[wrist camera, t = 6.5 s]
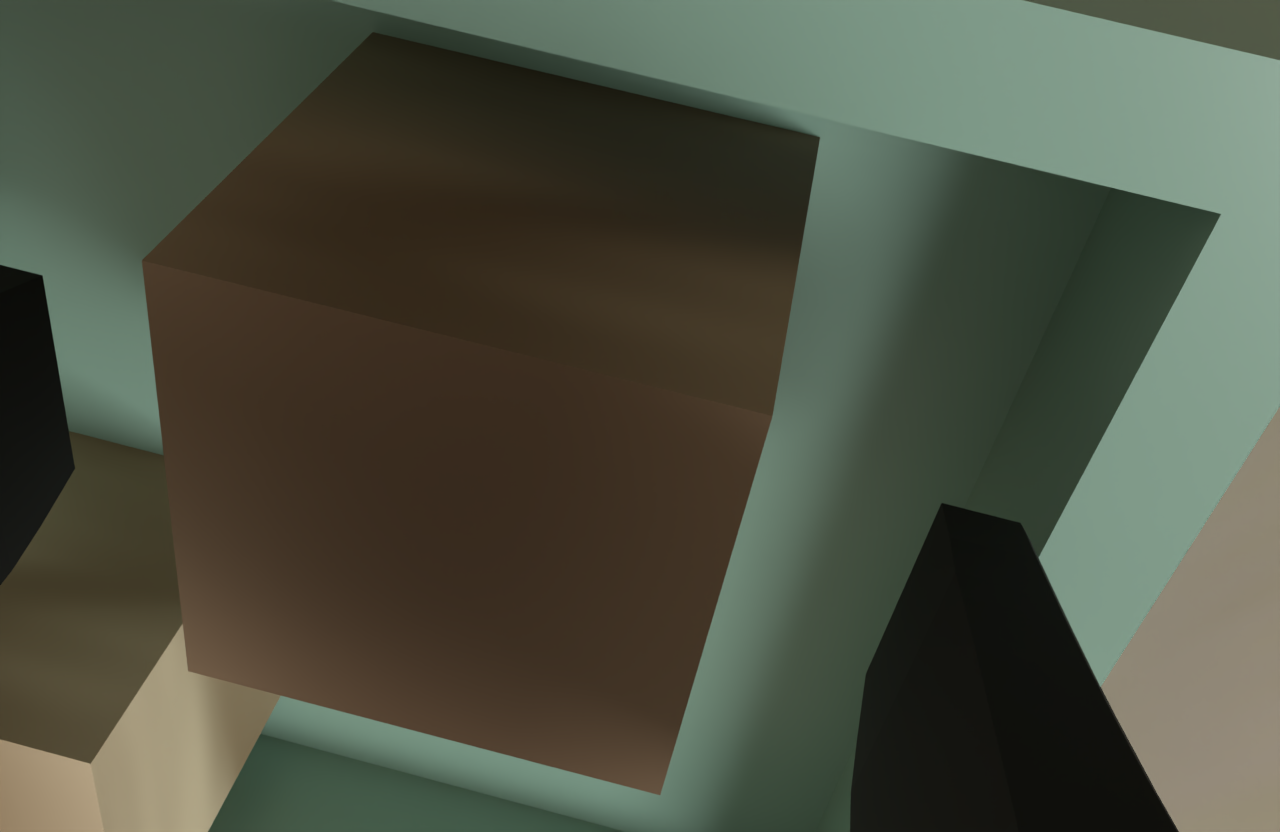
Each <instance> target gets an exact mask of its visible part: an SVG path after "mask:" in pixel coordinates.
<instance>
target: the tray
mask: <svg viewBox="0 0 1280 832" xmlns="http://www.w3.org/2000/svg"><path fill="white" fill-rule="evenodd" d="M372 32H375V33H379V34H383V35H388V36H392V37H396V38H400V39H405V40H409V41H413V42H417V43H422V44H426V45H430V46H434V47H439V48H443V49H447V50H451V51H456V52H460V53H464V54H468V55H473V56H477V57H481V58H486V59H490V60H494V61H498V62H503V63H507V64H511V65H515V66H520V67H524V68H528V69H532V70H537V71H541V72H545V73H549V74H554V75H558V76H562V77H566V78H571V79H575V80H579V81H583V82H588V83H592V84H596V85H600V86H605V87H609V88H613V89H617V90H622V91H626V92H630V93H634V94H639V95H643V96H647V97H651V98H656V99H660V100H664V101H669V102H673V103H677V104H681V105H686V106H690V107H694V108H698V109H703V110H707V111H711V112H715V113H720V114H724V115H728V116H732V117H737V118H741V119H745V120H749V121H754V122H758V123H762V124H766V125H771V126H775V127H779V128H783V129H788V130H792V131H796V132H800V133H805V134H809V135H813V136H817V137H820V141H819V147H818V153H817V159H816V165H815V171H814V177H813V182H812V188H811V194H810V200H809V206H808V212H807V218H806V223H805V229H804V235H803V241H802V247H801V253H800V258H799V264H798V270H797V276H796V282H795V288H794V294H793V299H792V305H791V311H790V317H789V323H788V329H787V335H786V340H785V346H784V352H783V358H782V364H781V370H780V375H779V381H778V387H777V393H776V399H775V405H774V411H773V416H772V420H771V423H770V426H769V430H768V433H767V437H766V440H765V443H764V447H763V450H762V453H761V457H760V460H759V464H758V467H757V470H756V474H755V477H754V480H753V484H752V487H751V491H750V494H749V497H748V501H747V504H746V507H745V511H744V514H743V518H742V521H741V524H740V528H739V531H738V534H737V538H736V541H735V545H734V548H733V551H732V555H731V558H730V561H729V565H728V568H727V572H726V575H725V578H724V582H723V585H722V589H721V592H720V595H719V599H718V602H717V605H716V609H715V612H714V616H713V619H712V622H711V626H710V629H709V632H708V636H707V639H706V643H705V646H704V649H703V653H702V656H701V659H700V663H699V666H698V670H697V673H696V676H695V680H694V683H693V686H692V690H691V693H690V697H689V700H688V703H687V707H686V710H685V713H684V717H683V720H682V724H681V727H680V730H679V734H678V737H677V740H676V744H675V747H674V751H673V754H672V757H671V761H670V764H669V768H668V771H667V774H666V778H665V781H664V784H663V788H662V791H661V795H657V794H653V793H649V792H645V791H641V790H638V789H634V788H630V787H626V786H622V785H619V784H615V783H611V782H607V781H603V780H600V779H596V778H592V777H588V776H584V775H581V774H577V773H573V772H569V771H565V770H562V769H558V768H554V767H550V766H546V765H543V764H539V763H535V762H531V761H527V760H524V759H520V758H516V757H512V756H508V755H505V754H501V753H497V752H493V751H489V750H486V749H482V748H478V747H474V746H470V745H467V744H463V743H459V742H455V741H451V740H448V739H444V738H440V737H436V736H432V735H429V734H425V733H421V732H417V731H413V730H410V729H406V728H402V727H398V726H394V725H391V724H387V723H383V722H379V721H375V720H372V719H368V718H364V717H360V716H356V715H353V714H349V713H345V712H341V711H337V710H333V709H330V708H326V707H322V706H318V705H314V704H311V703H307V702H303V701H299V700H295V699H292V698H288V697H284V696H280V698H279V700H278V702H277V704H276V706H275V707H274V709H273V711H272V713H271V715H270V717H269V719H268V721H267V722H266V724H265V726H264V728H263V730H262V732H261V734H260V735H259V737H258V739H257V741H256V743H255V745H254V747H253V749H252V750H251V752H250V754H249V756H248V758H247V760H246V762H245V763H244V765H243V767H242V769H241V771H240V773H239V775H238V777H237V778H236V780H235V782H234V784H233V786H232V788H231V790H230V791H229V793H228V795H227V797H226V799H225V801H224V803H223V805H222V806H221V808H220V810H219V812H218V814H217V816H216V818H215V820H214V821H213V823H212V825H211V827H210V829H209V831H208V832H850V804H851V786H852V777H853V769H854V760H855V752H856V743H857V735H858V728H859V721H860V713H861V706H862V698H863V691H864V683H865V676H866V672H867V670H868V668H869V666H870V663H871V661H872V659H873V657H874V654H875V652H876V650H877V648H878V645H879V643H880V641H881V639H882V636H883V634H884V632H885V629H886V627H887V625H888V623H889V620H890V618H891V616H892V614H893V611H894V609H895V607H896V605H897V602H898V600H899V598H900V596H901V593H902V591H903V589H904V587H905V584H906V582H907V580H908V577H909V575H910V573H911V571H912V568H913V566H914V564H915V562H916V559H917V557H918V555H919V553H920V550H921V548H922V546H923V544H924V541H925V539H926V537H927V535H928V532H929V530H930V528H931V525H932V523H933V521H934V519H935V516H936V514H937V512H938V510H939V507H940V505H941V503H944V504H948V505H952V506H956V507H960V508H964V509H968V510H972V511H976V512H980V513H984V514H988V515H992V516H996V517H1000V518H1004V519H1008V520H1012V521H1016V522H1019V523H1021V524H1022V526H1023V528H1024V530H1025V531H1026V533H1027V535H1028V537H1029V539H1030V541H1031V543H1032V545H1033V547H1034V549H1035V551H1036V554H1037V556H1038V558H1039V560H1040V562H1041V564H1042V566H1043V568H1044V571H1045V573H1046V575H1047V577H1048V579H1049V581H1050V583H1051V586H1052V588H1053V590H1054V592H1055V594H1056V596H1057V598H1058V600H1059V603H1060V605H1061V607H1062V609H1063V611H1064V613H1065V615H1066V617H1067V619H1068V621H1069V624H1070V626H1071V628H1072V630H1073V632H1074V634H1075V636H1076V638H1077V640H1078V642H1079V644H1080V646H1081V648H1082V650H1083V652H1084V654H1085V657H1086V659H1087V661H1088V663H1089V665H1090V667H1091V669H1092V671H1093V673H1094V675H1095V677H1096V679H1097V681H1098V683H1099V685H1100V687H1101V685H1102V684H1103V682H1104V681H1105V679H1106V678H1107V676H1108V674H1109V673H1110V671H1111V670H1112V668H1113V667H1114V665H1115V664H1116V662H1117V660H1118V659H1119V657H1120V656H1121V654H1122V653H1123V651H1124V649H1125V648H1126V646H1127V645H1128V643H1129V642H1130V640H1131V638H1132V637H1133V635H1134V634H1135V632H1136V631H1137V629H1138V627H1139V626H1140V624H1141V623H1142V621H1143V620H1144V618H1145V617H1146V615H1147V613H1148V612H1149V610H1150V609H1151V607H1152V606H1153V604H1154V602H1155V601H1156V599H1157V598H1158V596H1159V595H1160V593H1161V591H1162V590H1163V588H1164V587H1165V585H1166V584H1167V582H1168V580H1169V579H1170V577H1171V576H1172V574H1173V573H1174V571H1175V570H1176V568H1177V566H1178V565H1179V563H1180V562H1181V560H1182V559H1183V557H1184V555H1185V554H1186V552H1187V551H1188V549H1189V548H1190V546H1191V544H1192V543H1193V541H1194V540H1195V538H1196V537H1197V535H1198V534H1199V532H1200V530H1201V529H1202V527H1203V526H1204V524H1205V523H1206V521H1207V519H1208V518H1209V516H1210V515H1211V513H1212V512H1213V510H1214V508H1215V507H1216V505H1217V504H1218V502H1219V501H1220V499H1221V497H1222V496H1223V494H1224V493H1225V491H1226V490H1227V488H1228V487H1229V485H1230V483H1231V482H1232V480H1233V479H1234V477H1235V476H1236V474H1237V472H1238V471H1239V469H1240V468H1241V466H1242V465H1243V463H1244V461H1245V460H1246V458H1247V457H1248V455H1249V454H1250V452H1251V451H1252V449H1253V447H1254V446H1255V444H1256V443H1257V441H1258V440H1259V438H1260V436H1261V435H1262V433H1263V432H1264V430H1265V429H1266V427H1267V425H1268V424H1269V422H1270V421H1271V419H1272V418H1273V416H1274V414H1275V413H1276V411H1277V410H1278V408H1279V407H1280V0H0V265H3V266H7V267H11V268H15V269H19V270H23V271H27V272H31V273H35V274H39V275H43V281H44V287H45V293H46V299H47V304H48V310H49V316H50V322H51V328H52V334H53V340H54V346H55V352H56V358H57V364H58V370H59V376H60V382H61V388H62V394H63V400H64V406H65V411H66V417H67V423H68V429H69V431H71V432H75V433H79V434H83V435H87V436H90V437H94V438H98V439H102V440H106V441H110V442H114V443H118V444H121V445H125V446H129V447H133V448H137V449H141V450H145V451H148V452H152V453H156V454H160V455H164V454H163V445H162V436H161V427H160V418H159V409H158V400H157V392H156V383H155V374H154V365H153V356H152V347H151V338H150V330H149V321H148V312H147V303H146V294H145V285H144V276H143V268H142V260H143V259H144V258H145V257H146V256H147V255H148V254H149V253H150V252H151V251H152V250H153V249H154V248H155V247H156V246H157V245H158V244H159V243H160V242H161V241H162V240H163V239H164V238H165V237H166V236H167V235H168V234H169V233H170V232H171V231H172V230H173V229H174V228H175V227H176V226H177V225H178V224H179V223H180V222H181V221H182V220H183V219H184V218H185V217H186V216H187V215H188V214H189V213H190V212H191V211H192V210H193V209H194V208H195V207H196V206H197V205H198V204H199V203H200V202H201V201H202V200H203V199H204V198H205V197H206V196H207V195H208V194H209V193H210V192H211V191H212V190H213V189H214V188H215V187H216V186H217V185H219V184H220V183H221V182H222V181H223V180H224V179H225V178H226V177H227V176H228V175H229V174H230V173H231V172H232V171H233V170H234V169H235V168H236V167H237V166H238V165H239V164H240V163H241V162H242V161H243V160H244V159H245V158H246V157H247V156H248V155H249V154H250V153H251V152H252V151H253V150H254V149H255V148H256V147H257V146H258V145H259V144H260V143H261V142H262V141H263V140H264V139H265V138H266V137H267V136H268V135H269V134H270V133H271V132H272V131H273V130H274V129H275V128H276V127H277V126H278V125H279V124H280V123H281V122H282V121H283V120H284V119H285V118H286V117H287V116H288V115H289V114H290V113H291V112H292V111H293V110H294V109H295V108H296V107H297V106H298V105H299V104H300V103H301V102H302V101H303V100H304V99H305V98H306V97H307V96H308V95H310V94H311V93H312V92H313V91H314V90H315V89H316V88H317V87H318V86H319V85H320V84H321V83H322V82H323V81H324V80H325V79H326V78H327V77H328V76H329V75H330V74H331V73H332V72H333V71H334V70H335V69H336V68H337V67H338V66H339V65H340V64H341V63H342V62H343V61H344V60H345V59H346V58H347V57H348V56H349V55H350V54H351V53H352V52H353V51H354V50H355V49H356V48H357V47H358V46H359V45H360V44H361V43H362V42H363V41H364V40H365V39H366V38H367V37H368V36H369V35H370V34H371V33H372Z"/></svg>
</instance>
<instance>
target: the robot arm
mask: <svg viewBox="0 0 1280 832" xmlns="http://www.w3.org/2000/svg"><path fill="white" fill-rule="evenodd" d="M74 470H75V465H74V459H73V453H72V447H71V441H70V435H69V429H68V423H67V417H66V411H65V406H64V400H63V394H62V388H61V382H60V376H59V370H58V364H57V358H56V352H55V346H54V340H53V334H52V328H51V322H50V316H49V310H48V304H47V299H46V293H45V287H44V281H43V275H39V274H35V273H31V272H27V271H23V270H19V269H15V268H11V267H7V266H3V265H0V585H1V584H2V583H3V581H4V580H5V579H6V578H7V576H8V575H9V574H10V573H11V571H12V570H13V568H14V567H15V565H16V564H17V562H18V561H19V559H20V558H21V556H22V555H23V553H24V551H25V550H26V548H27V547H28V545H29V544H30V542H31V541H32V539H33V538H34V536H35V534H36V533H37V531H38V530H39V528H40V527H41V525H42V524H43V522H44V520H45V518H46V517H47V515H48V513H49V512H50V510H51V508H52V507H53V505H54V503H55V502H56V500H57V498H58V497H59V495H60V493H61V492H62V490H63V488H64V486H65V485H66V483H67V481H68V480H69V478H70V476H71V475H72V473H73V471H74ZM850 832H1179V831H1178V830H1177V828H1176V826H1175V824H1174V823H1173V821H1172V819H1171V817H1170V816H1169V814H1168V812H1167V810H1166V809H1165V807H1164V805H1163V803H1162V801H1161V800H1160V798H1159V796H1158V794H1157V793H1156V791H1155V789H1154V787H1153V785H1152V783H1151V781H1150V780H1149V778H1148V776H1147V774H1146V772H1145V770H1144V768H1143V767H1142V765H1141V763H1140V761H1139V759H1138V757H1137V755H1136V753H1135V752H1134V750H1133V748H1132V746H1131V744H1130V742H1129V740H1128V739H1127V737H1126V735H1125V733H1124V731H1123V729H1122V727H1121V725H1120V724H1119V722H1118V720H1117V718H1116V716H1115V714H1114V712H1113V710H1112V708H1111V706H1110V705H1109V703H1108V701H1107V699H1106V697H1105V695H1104V693H1103V691H1102V689H1101V687H1100V685H1099V683H1098V681H1097V679H1096V677H1095V675H1094V673H1093V671H1092V669H1091V667H1090V665H1089V663H1088V661H1087V659H1086V657H1085V654H1084V652H1083V650H1082V648H1081V646H1080V644H1079V642H1078V640H1077V638H1076V636H1075V634H1074V632H1073V630H1072V628H1071V626H1070V624H1069V621H1068V619H1067V617H1066V615H1065V613H1064V611H1063V609H1062V607H1061V605H1060V603H1059V600H1058V598H1057V596H1056V594H1055V592H1054V590H1053V588H1052V586H1051V583H1050V581H1049V579H1048V577H1047V575H1046V573H1045V571H1044V568H1043V566H1042V564H1041V562H1040V560H1039V558H1038V556H1037V554H1036V551H1035V549H1034V547H1033V545H1032V543H1031V541H1030V539H1029V537H1028V535H1027V533H1026V531H1025V530H1024V528H1023V526H1022V524H1021V523H1019V522H1016V521H1012V520H1008V519H1004V518H1000V517H996V516H992V515H988V514H984V513H980V512H976V511H972V510H968V509H964V508H960V507H956V506H952V505H948V504H944V503H941V505H940V507H939V510H938V512H937V514H936V516H935V519H934V521H933V523H932V525H931V528H930V530H929V532H928V535H927V537H926V539H925V541H924V544H923V546H922V548H921V550H920V553H919V555H918V557H917V559H916V562H915V564H914V566H913V568H912V571H911V573H910V575H909V577H908V580H907V582H906V584H905V587H904V589H903V591H902V593H901V596H900V598H899V600H898V602H897V605H896V607H895V609H894V611H893V614H892V616H891V618H890V620H889V623H888V625H887V627H886V629H885V632H884V634H883V636H882V639H881V641H880V643H879V645H878V648H877V650H876V652H875V654H874V657H873V659H872V661H871V663H870V666H869V668H868V670H867V672H866V676H865V683H864V691H863V698H862V706H861V713H860V721H859V728H858V735H857V743H856V752H855V760H854V769H853V777H852V786H851V804H850Z"/></svg>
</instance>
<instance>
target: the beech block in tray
mask: <svg viewBox="0 0 1280 832" xmlns="http://www.w3.org/2000/svg"><path fill="white" fill-rule="evenodd" d="M69 435H70V441H71V447H72V453H73V459H74V465H75V470H74V471H73V473H72V475H71V476H70V478H69V480H68V481H67V483H66V485H65V486H64V488H63V490H62V492H61V493H60V495H59V497H58V498H57V500H56V502H55V503H54V505H53V507H52V508H51V510H50V512H49V513H48V515H47V517H46V518H45V520H44V522H43V524H42V525H41V527H40V528H39V530H38V531H37V533H36V534H35V536H34V538H33V539H32V541H31V542H30V544H29V545H28V547H27V548H26V550H25V551H24V553H23V555H22V556H21V558H20V559H19V561H18V562H17V564H16V565H15V567H14V568H13V570H12V571H11V573H10V574H9V575H8V576H7V578H6V579H5V580H4V581H3V583H2V584H1V585H0V832H208V831H209V829H210V827H211V825H212V823H213V821H214V820H215V818H216V816H217V814H218V812H219V810H220V808H221V806H222V805H223V803H224V801H225V799H226V797H227V795H228V793H229V791H230V790H231V788H232V786H233V784H234V782H235V780H236V778H237V777H238V775H239V773H240V771H241V769H242V767H243V765H244V763H245V762H246V760H247V758H248V756H249V754H250V752H251V750H252V749H253V747H254V745H255V743H256V741H257V739H258V737H259V735H260V734H261V732H262V730H263V728H264V726H265V724H266V722H267V721H268V719H269V717H270V715H271V713H272V711H273V709H274V707H275V706H276V704H277V702H278V700H279V698H280V695H276V694H273V693H269V692H265V691H261V690H257V689H254V688H250V687H246V686H242V685H238V684H235V683H231V682H227V681H223V680H219V679H216V678H212V677H208V676H204V675H200V674H197V673H193V672H189V671H188V666H187V657H186V648H185V640H184V631H183V622H182V613H181V604H180V595H179V586H178V578H177V569H176V560H175V551H174V542H173V533H172V524H171V516H170V507H169V498H168V489H167V480H166V471H165V462H164V455H160V454H156V453H152V452H148V451H145V450H141V449H137V448H133V447H129V446H125V445H121V444H118V443H114V442H110V441H106V440H102V439H98V438H94V437H90V436H87V435H83V434H79V433H75V432H71V431H69Z"/></svg>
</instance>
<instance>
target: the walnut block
mask: <svg viewBox="0 0 1280 832" xmlns="http://www.w3.org/2000/svg"><path fill="white" fill-rule="evenodd" d="M819 141H820V137H817V136H813V135H809V134H805V133H800V132H796V131H792V130H788V129H783V128H779V127H775V126H771V125H766V124H762V123H758V122H754V121H749V120H745V119H741V118H737V117H732V116H728V115H724V114H720V113H715V112H711V111H707V110H703V109H698V108H694V107H690V106H686V105H681V104H677V103H673V102H669V101H664V100H660V99H656V98H651V97H647V96H643V95H639V94H634V93H630V92H626V91H622V90H617V89H613V88H609V87H605V86H600V85H596V84H592V83H588V82H583V81H579V80H575V79H571V78H566V77H562V76H558V75H554V74H549V73H545V72H541V71H537V70H532V69H528V68H524V67H520V66H515V65H511V64H507V63H503V62H498V61H494V60H490V59H486V58H481V57H477V56H473V55H468V54H464V53H460V52H456V51H451V50H447V49H443V48H439V47H434V46H430V45H426V44H422V43H417V42H413V41H409V40H405V39H400V38H396V37H392V36H388V35H383V34H379V33H375V32H372V33H371V34H370V35H369V36H368V37H367V38H366V39H365V40H364V41H363V42H362V43H361V44H360V45H359V46H358V47H357V48H356V49H355V50H354V51H353V52H352V53H351V54H350V55H349V56H348V57H347V58H346V59H345V60H344V61H343V62H342V63H341V64H340V65H339V66H338V67H337V68H336V69H335V70H334V71H333V72H332V73H331V74H330V75H329V76H328V77H327V78H326V79H325V80H324V81H323V82H322V83H321V84H320V85H319V86H318V87H317V88H316V89H315V90H314V91H313V92H312V93H311V94H310V95H308V96H307V97H306V98H305V99H304V100H303V101H302V102H301V103H300V104H299V105H298V106H297V107H296V108H295V109H294V110H293V111H292V112H291V113H290V114H289V115H288V116H287V117H286V118H285V119H284V120H283V121H282V122H281V123H280V124H279V125H278V126H277V127H276V128H275V129H274V130H273V131H272V132H271V133H270V134H269V135H268V136H267V137H266V138H265V139H264V140H263V141H262V142H261V143H260V144H259V145H258V146H257V147H256V148H255V149H254V150H253V151H252V152H251V153H250V154H249V155H248V156H247V157H246V158H245V159H244V160H243V161H242V162H241V163H240V164H239V165H238V166H237V167H236V168H235V169H234V170H233V171H232V172H231V173H230V174H229V175H228V176H227V177H226V178H225V179H224V180H223V181H222V182H221V183H220V184H219V185H217V186H216V187H215V188H214V189H213V190H212V191H211V192H210V193H209V194H208V195H207V196H206V197H205V198H204V199H203V200H202V201H201V202H200V203H199V204H198V205H197V206H196V207H195V208H194V209H193V210H192V211H191V212H190V213H189V214H188V215H187V216H186V217H185V218H184V219H183V220H182V221H181V222H180V223H179V224H178V225H177V226H176V227H175V228H174V229H173V230H172V231H171V232H170V233H169V234H168V235H167V236H166V237H165V238H164V239H163V240H162V241H161V242H160V243H159V244H158V245H157V246H156V247H155V248H154V249H153V250H152V251H151V252H150V253H149V254H148V255H147V256H146V257H145V258H144V259H143V260H142V268H143V276H144V285H145V294H146V303H147V312H148V321H149V330H150V338H151V347H152V356H153V365H154V374H155V383H156V392H157V400H158V409H159V418H160V427H161V436H162V445H163V454H164V462H165V471H166V480H167V489H168V498H169V507H170V516H171V524H172V533H173V542H174V551H175V560H176V569H177V578H178V586H179V595H180V604H181V613H182V622H183V631H184V640H185V648H186V657H187V666H188V671H189V672H193V673H197V674H200V675H204V676H208V677H212V678H216V679H219V680H223V681H227V682H231V683H235V684H238V685H242V686H246V687H250V688H254V689H257V690H261V691H265V692H269V693H273V694H276V695H280V696H284V697H288V698H292V699H295V700H299V701H303V702H307V703H311V704H314V705H318V706H322V707H326V708H330V709H333V710H337V711H341V712H345V713H349V714H353V715H356V716H360V717H364V718H368V719H372V720H375V721H379V722H383V723H387V724H391V725H394V726H398V727H402V728H406V729H410V730H413V731H417V732H421V733H425V734H429V735H432V736H436V737H440V738H444V739H448V740H451V741H455V742H459V743H463V744H467V745H470V746H474V747H478V748H482V749H486V750H489V751H493V752H497V753H501V754H505V755H508V756H512V757H516V758H520V759H524V760H527V761H531V762H535V763H539V764H543V765H546V766H550V767H554V768H558V769H562V770H565V771H569V772H573V773H577V774H581V775H584V776H588V777H592V778H596V779H600V780H603V781H607V782H611V783H615V784H619V785H622V786H626V787H630V788H634V789H638V790H641V791H645V792H649V793H653V794H657V795H661V791H662V788H663V784H664V781H665V778H666V774H667V771H668V768H669V764H670V761H671V757H672V754H673V751H674V747H675V744H676V740H677V737H678V734H679V730H680V727H681V724H682V720H683V717H684V713H685V710H686V707H687V703H688V700H689V697H690V693H691V690H692V686H693V683H694V680H695V676H696V673H697V670H698V666H699V663H700V659H701V656H702V653H703V649H704V646H705V643H706V639H707V636H708V632H709V629H710V626H711V622H712V619H713V616H714V612H715V609H716V605H717V602H718V599H719V595H720V592H721V589H722V585H723V582H724V578H725V575H726V572H727V568H728V565H729V561H730V558H731V555H732V551H733V548H734V545H735V541H736V538H737V534H738V531H739V528H740V524H741V521H742V518H743V514H744V511H745V507H746V504H747V501H748V497H749V494H750V491H751V487H752V484H753V480H754V477H755V474H756V470H757V467H758V464H759V460H760V457H761V453H762V450H763V447H764V443H765V440H766V437H767V433H768V430H769V426H770V423H771V420H772V416H773V411H774V405H775V399H776V393H777V387H778V381H779V375H780V370H781V364H782V358H783V352H784V346H785V340H786V335H787V329H788V323H789V317H790V311H791V305H792V299H793V294H794V288H795V282H796V276H797V270H798V264H799V258H800V253H801V247H802V241H803V235H804V229H805V223H806V218H807V212H808V206H809V200H810V194H811V188H812V182H813V177H814V171H815V165H816V159H817V153H818V147H819Z"/></svg>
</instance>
